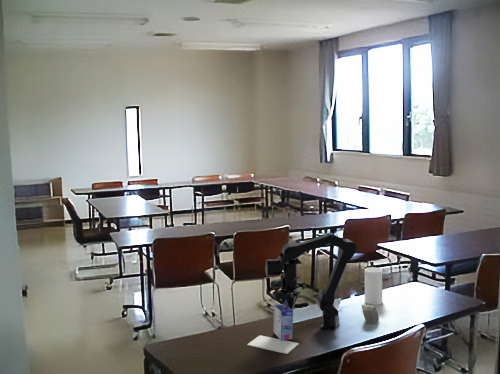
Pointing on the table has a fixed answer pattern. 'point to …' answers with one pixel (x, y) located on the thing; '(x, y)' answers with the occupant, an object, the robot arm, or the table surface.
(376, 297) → the cup
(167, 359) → the table surface
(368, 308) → the mineral specimen
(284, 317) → the ink cartridge box
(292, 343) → the mat
